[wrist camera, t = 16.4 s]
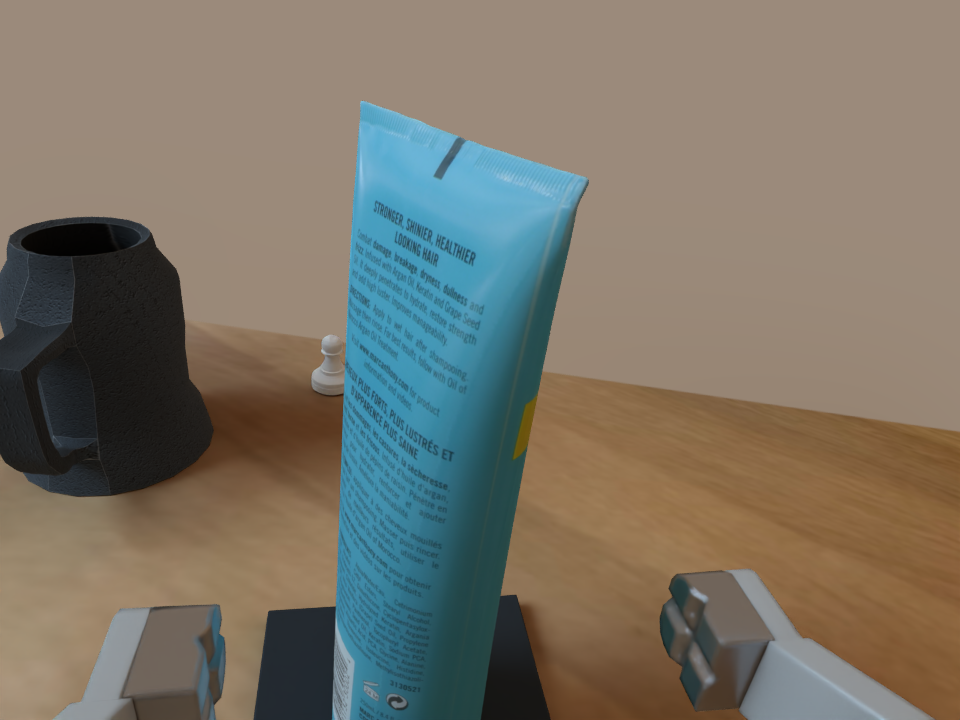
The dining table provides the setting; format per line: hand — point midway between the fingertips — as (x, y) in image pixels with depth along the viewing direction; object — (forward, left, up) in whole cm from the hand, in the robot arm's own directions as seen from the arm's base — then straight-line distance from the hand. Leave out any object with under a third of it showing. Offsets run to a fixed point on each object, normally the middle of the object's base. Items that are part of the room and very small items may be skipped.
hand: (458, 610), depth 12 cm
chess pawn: (-3, +29, -13) cm, 32 cm away
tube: (0, +6, -12) cm, 13 cm away
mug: (-14, +22, -13) cm, 29 cm away
